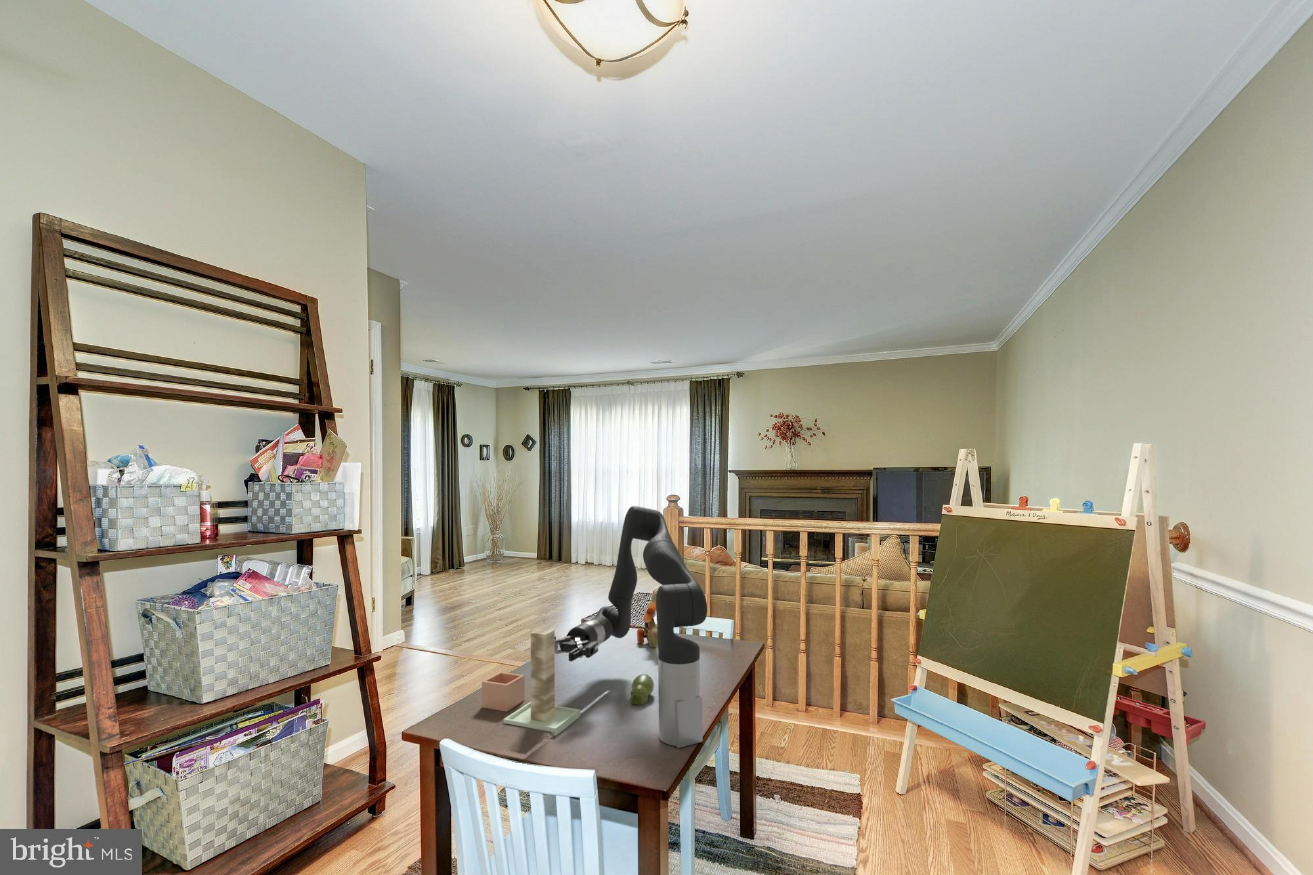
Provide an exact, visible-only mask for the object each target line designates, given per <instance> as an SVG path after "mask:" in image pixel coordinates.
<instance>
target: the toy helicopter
mask: <svg viewBox="0 0 1313 875" xmlns="http://www.w3.org/2000/svg"><path fill="white" fill-rule="evenodd" d="M656 616H657V615H656V601H651V602H649V604H648V606H647V609H646V610H645V612H644V616H643V618H642V621H643V622H644V628H638V629H637V630H636V638H637V639H636V640H637V643H638V645H643V644H644V643H645V639H646V640H647V643H648V644H649V648H650V649H653V648H654V649H655V648H657V647H658V632H657V623H656V621H655V617H656Z"/></svg>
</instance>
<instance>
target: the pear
mask: <svg viewBox="0 0 1313 875" xmlns="http://www.w3.org/2000/svg"><path fill="white" fill-rule="evenodd" d="M654 686H655V684H654V680H653V678H652V677H651V676H650V675H648V674H645V673H642V674H639V675H637V676H636V677H635V678H634V680H633V681H632V683H631V690H630V698H629V702H630V704H631V705H635V706H645V705H646V704H647V703H648V699H649V698H648V697H649V696H650V695H651V694H652V693H653V691H654Z"/></svg>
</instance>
